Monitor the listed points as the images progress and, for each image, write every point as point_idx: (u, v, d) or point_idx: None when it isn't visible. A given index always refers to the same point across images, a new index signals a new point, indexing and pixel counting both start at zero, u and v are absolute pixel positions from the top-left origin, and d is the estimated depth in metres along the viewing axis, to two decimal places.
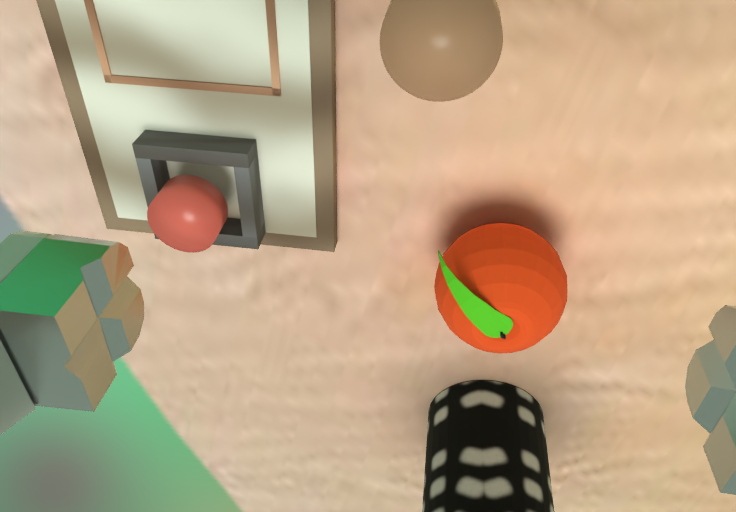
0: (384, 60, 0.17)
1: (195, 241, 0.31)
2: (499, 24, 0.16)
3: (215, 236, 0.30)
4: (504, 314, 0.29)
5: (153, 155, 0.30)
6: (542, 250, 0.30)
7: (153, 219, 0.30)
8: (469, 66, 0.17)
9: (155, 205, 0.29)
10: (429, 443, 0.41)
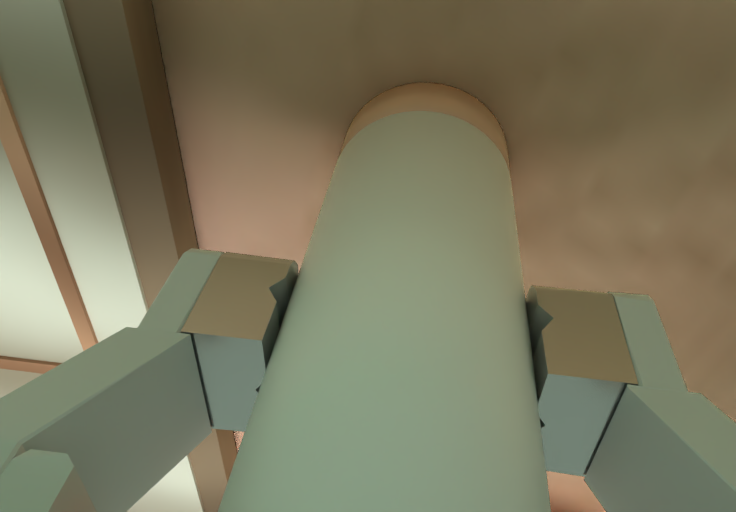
0: None
1: None
2: None
3: None
4: None
5: None
6: None
7: None
8: None
9: None
10: None
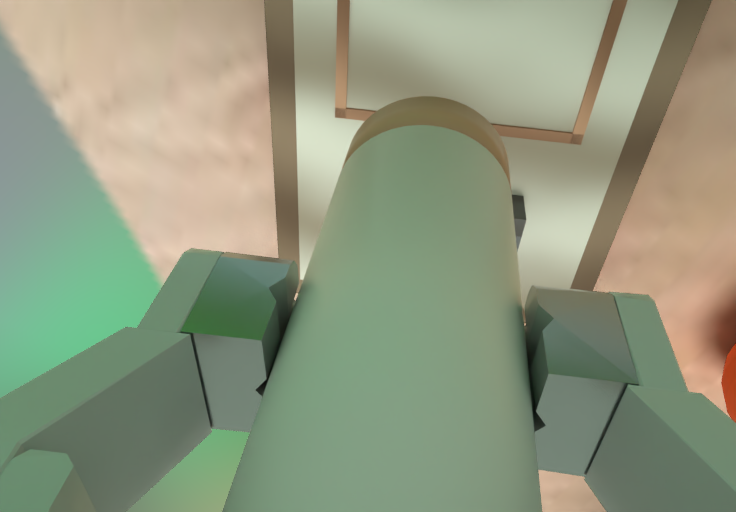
0: None
1: None
2: None
3: None
4: None
5: None
6: None
7: None
8: None
9: None
10: None
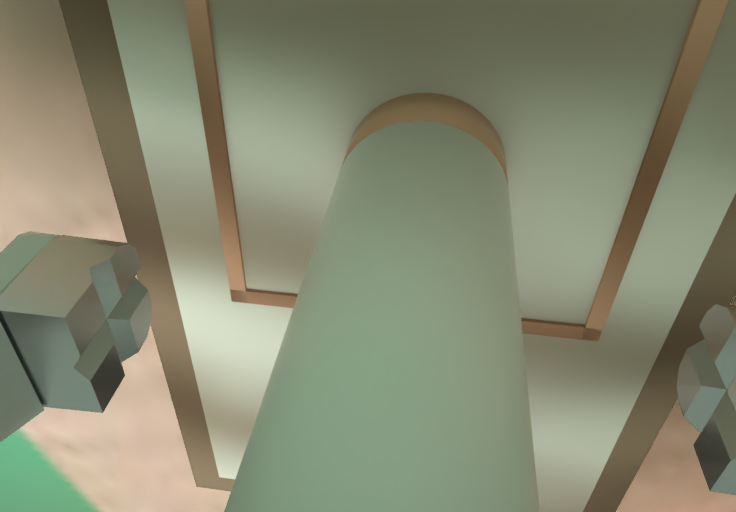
0: None
1: None
2: None
3: None
4: None
5: None
6: None
7: None
8: None
9: None
10: None
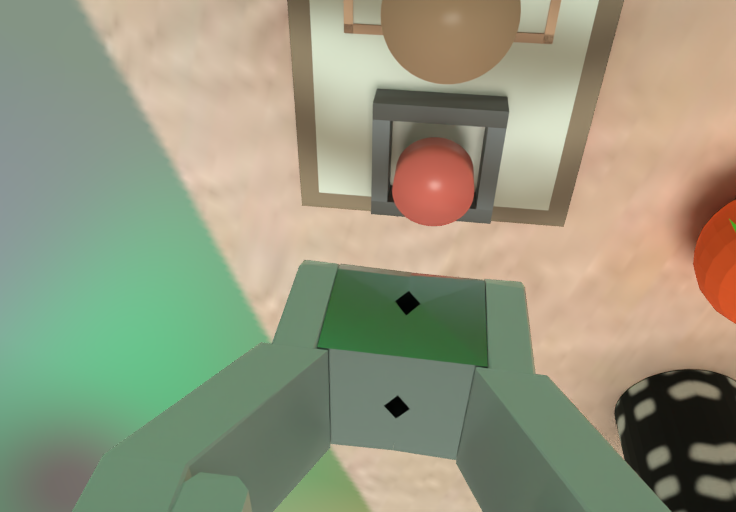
0: (386, 38, 0.15)
1: (442, 213, 0.27)
2: None
3: (468, 206, 0.27)
4: None
5: (395, 116, 0.27)
6: None
7: (399, 188, 0.26)
8: (482, 42, 0.15)
9: (406, 171, 0.26)
10: (634, 439, 0.37)
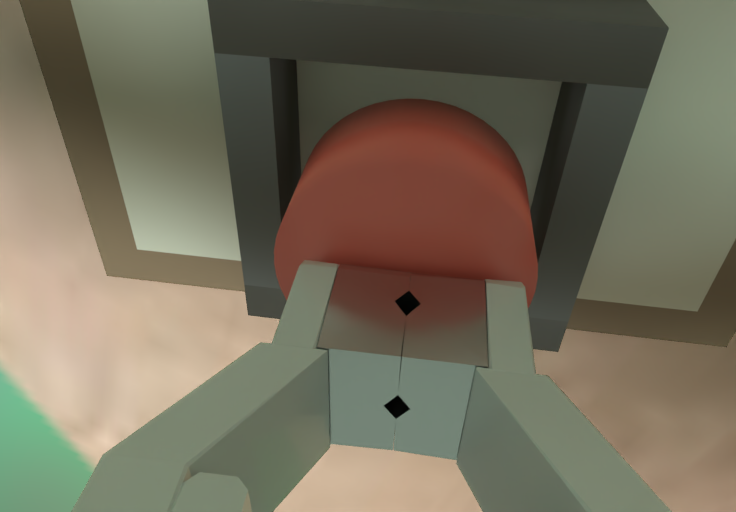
0: None
1: None
2: None
3: None
4: None
5: (283, 41, 0.08)
6: None
7: (295, 258, 0.08)
8: None
9: (315, 206, 0.08)
10: None
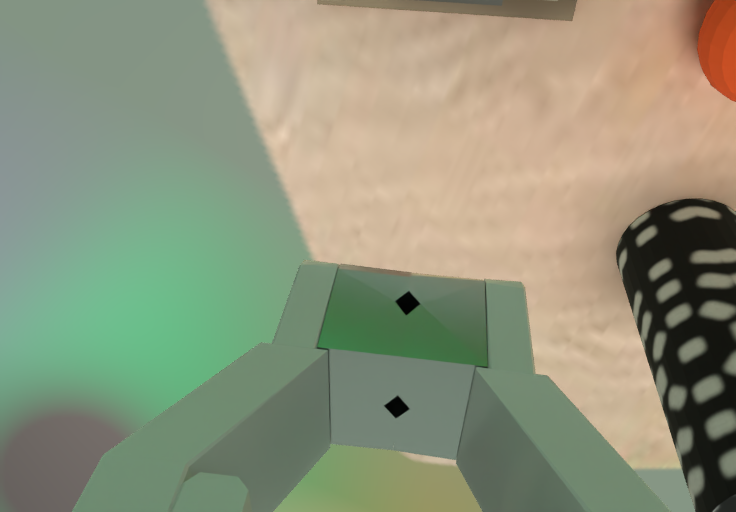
0: None
1: None
2: None
3: None
4: None
5: None
6: None
7: None
8: None
9: None
10: (636, 264, 0.38)
